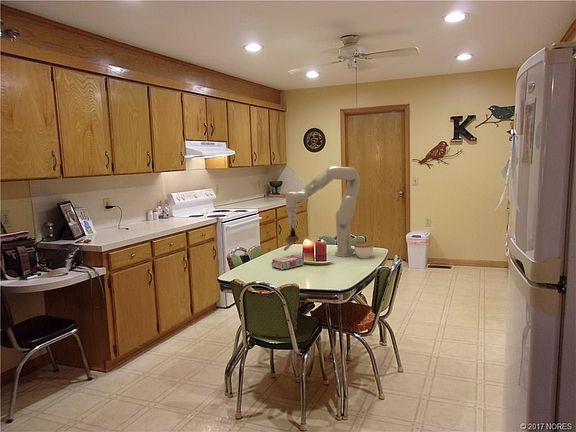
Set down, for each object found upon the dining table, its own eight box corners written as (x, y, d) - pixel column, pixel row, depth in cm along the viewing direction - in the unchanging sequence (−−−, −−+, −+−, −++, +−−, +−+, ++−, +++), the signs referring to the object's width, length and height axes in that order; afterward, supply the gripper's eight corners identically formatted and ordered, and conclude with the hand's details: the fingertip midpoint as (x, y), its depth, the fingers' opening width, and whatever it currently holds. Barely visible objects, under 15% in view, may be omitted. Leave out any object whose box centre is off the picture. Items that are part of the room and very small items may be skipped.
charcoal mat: (295, 261, 294) (295, 260, 294) (297, 266, 279) (297, 265, 279) (271, 262, 293) (271, 262, 293) (272, 268, 279) (272, 267, 279)
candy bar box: (303, 257, 280) (282, 262, 270) (303, 264, 281) (283, 270, 271) (292, 254, 289) (271, 259, 279) (293, 261, 290) (272, 266, 280)
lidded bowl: (372, 254, 301) (372, 238, 299) (374, 259, 288) (374, 242, 287) (353, 255, 302) (353, 239, 301) (354, 259, 290) (354, 243, 288)
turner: (298, 237, 309) (293, 231, 308) (299, 238, 304) (293, 232, 303) (284, 249, 309) (278, 243, 308) (284, 251, 304) (279, 244, 303)
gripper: (298, 210, 296) (299, 238, 298) (296, 208, 312) (297, 234, 314) (287, 211, 295) (288, 238, 298) (285, 208, 311) (286, 234, 314)
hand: (293, 236), depth 306 cm, fingers closed on turner, 3 cm apart
